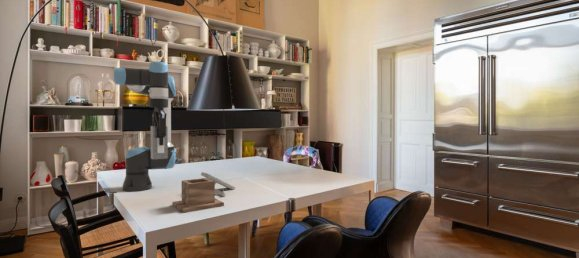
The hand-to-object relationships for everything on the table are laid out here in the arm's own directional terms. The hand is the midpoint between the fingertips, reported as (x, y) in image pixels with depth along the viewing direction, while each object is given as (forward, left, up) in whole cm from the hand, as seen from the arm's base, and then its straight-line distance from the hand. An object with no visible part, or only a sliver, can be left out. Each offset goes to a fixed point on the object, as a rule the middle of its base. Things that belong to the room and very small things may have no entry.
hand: (159, 152), depth 141 cm
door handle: (-16, +38, -26) cm, 49 cm away
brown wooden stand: (+1, +17, -26) cm, 31 cm away
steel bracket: (0, 0, -3) cm, 3 cm away
